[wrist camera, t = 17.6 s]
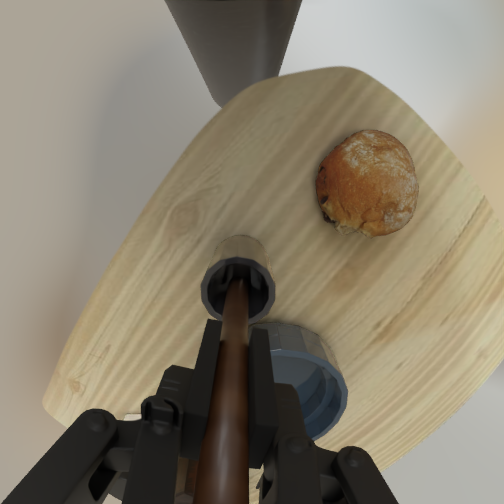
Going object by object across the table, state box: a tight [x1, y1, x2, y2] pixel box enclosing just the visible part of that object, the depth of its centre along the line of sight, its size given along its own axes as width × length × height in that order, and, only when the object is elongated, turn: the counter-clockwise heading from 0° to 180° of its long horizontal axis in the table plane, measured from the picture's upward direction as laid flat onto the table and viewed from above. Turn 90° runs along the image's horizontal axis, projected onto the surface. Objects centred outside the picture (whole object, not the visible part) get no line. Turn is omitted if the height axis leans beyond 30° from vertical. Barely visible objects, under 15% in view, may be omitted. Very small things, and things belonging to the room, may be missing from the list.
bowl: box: [248, 322, 348, 441], centre depth 30 cm, size 15×15×6 cm
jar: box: [109, 414, 141, 501], centre depth 30 cm, size 9×8×12 cm
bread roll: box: [316, 130, 419, 238], centre depth 25 cm, size 10×10×8 cm
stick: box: [192, 276, 249, 504], centre depth 14 cm, size 2×2×20 cm
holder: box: [201, 235, 275, 325], centre depth 25 cm, size 5×6×8 cm
